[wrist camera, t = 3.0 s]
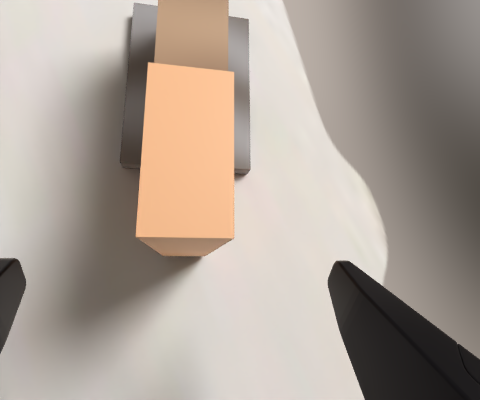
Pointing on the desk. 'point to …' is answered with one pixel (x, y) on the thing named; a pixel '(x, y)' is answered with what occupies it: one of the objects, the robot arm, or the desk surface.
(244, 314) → the desk surface
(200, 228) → the block
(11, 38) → the desk surface
